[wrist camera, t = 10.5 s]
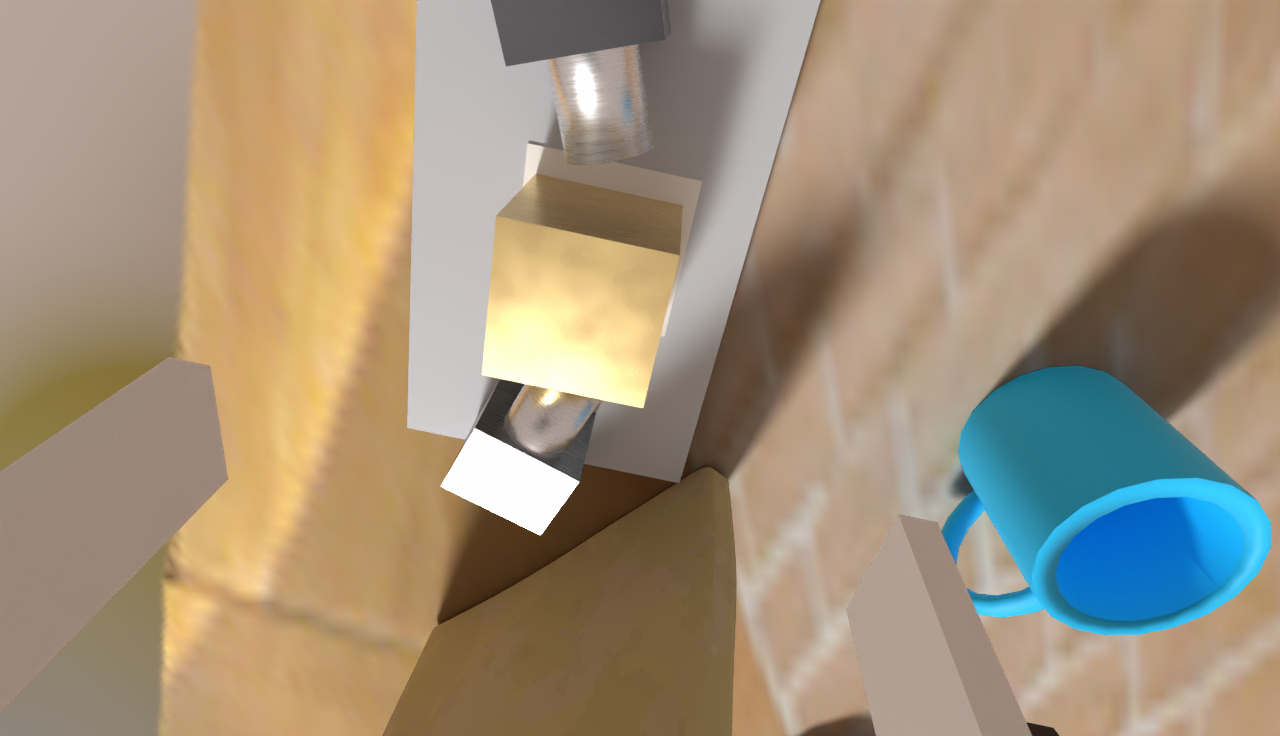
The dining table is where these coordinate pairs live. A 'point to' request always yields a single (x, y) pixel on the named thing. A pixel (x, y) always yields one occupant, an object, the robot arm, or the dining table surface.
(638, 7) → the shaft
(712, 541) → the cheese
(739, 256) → the grey base plate
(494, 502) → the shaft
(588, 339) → the block
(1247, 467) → the dining table surface
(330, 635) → the dining table surface
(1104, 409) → the mug
